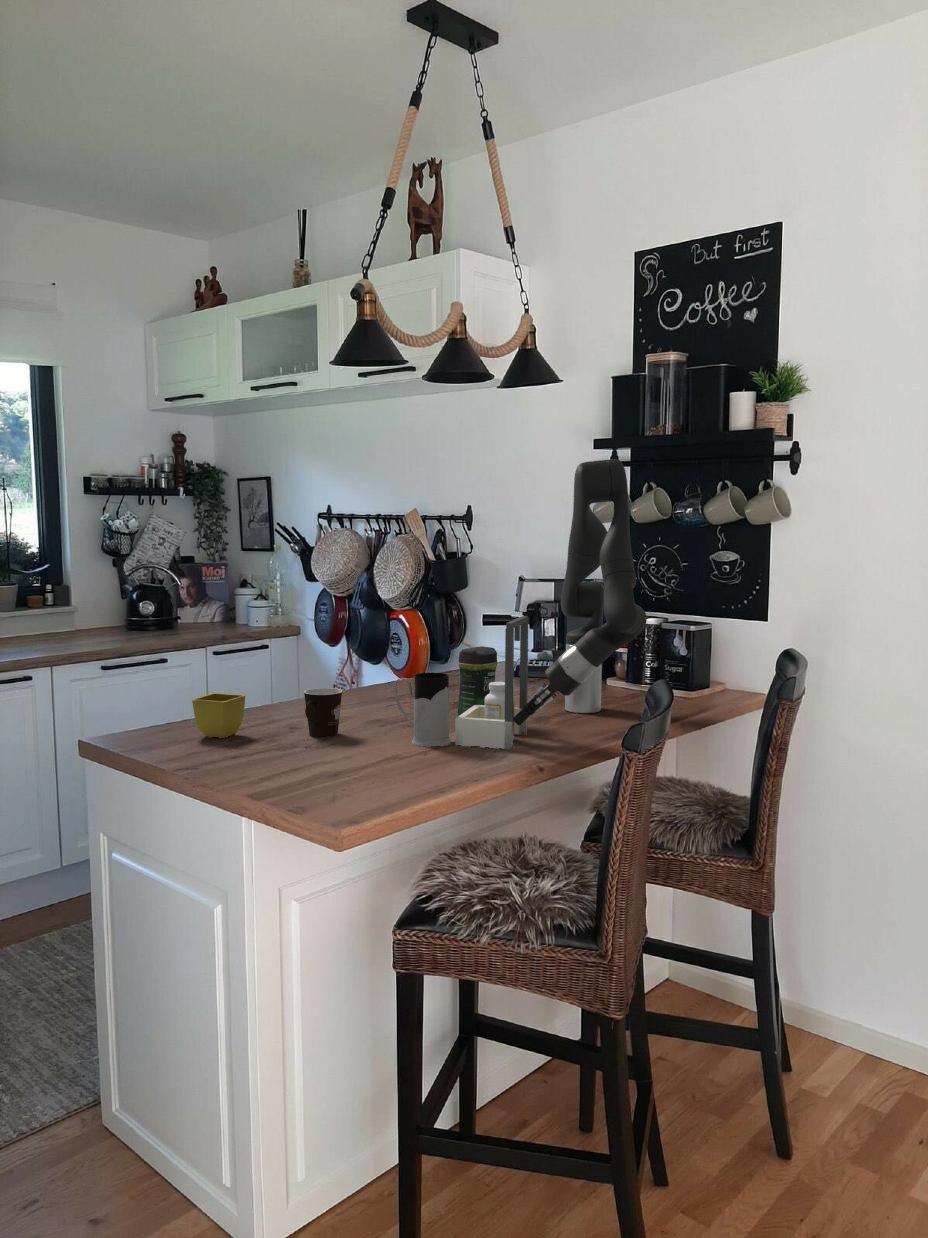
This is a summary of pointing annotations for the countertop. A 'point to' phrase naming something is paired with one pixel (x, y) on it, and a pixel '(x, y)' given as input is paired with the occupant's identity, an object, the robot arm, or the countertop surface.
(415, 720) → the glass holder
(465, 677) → the coffee jar
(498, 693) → the supplement bottle
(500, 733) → the bay
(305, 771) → the countertop surface
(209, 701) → the flower pot
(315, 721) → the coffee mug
